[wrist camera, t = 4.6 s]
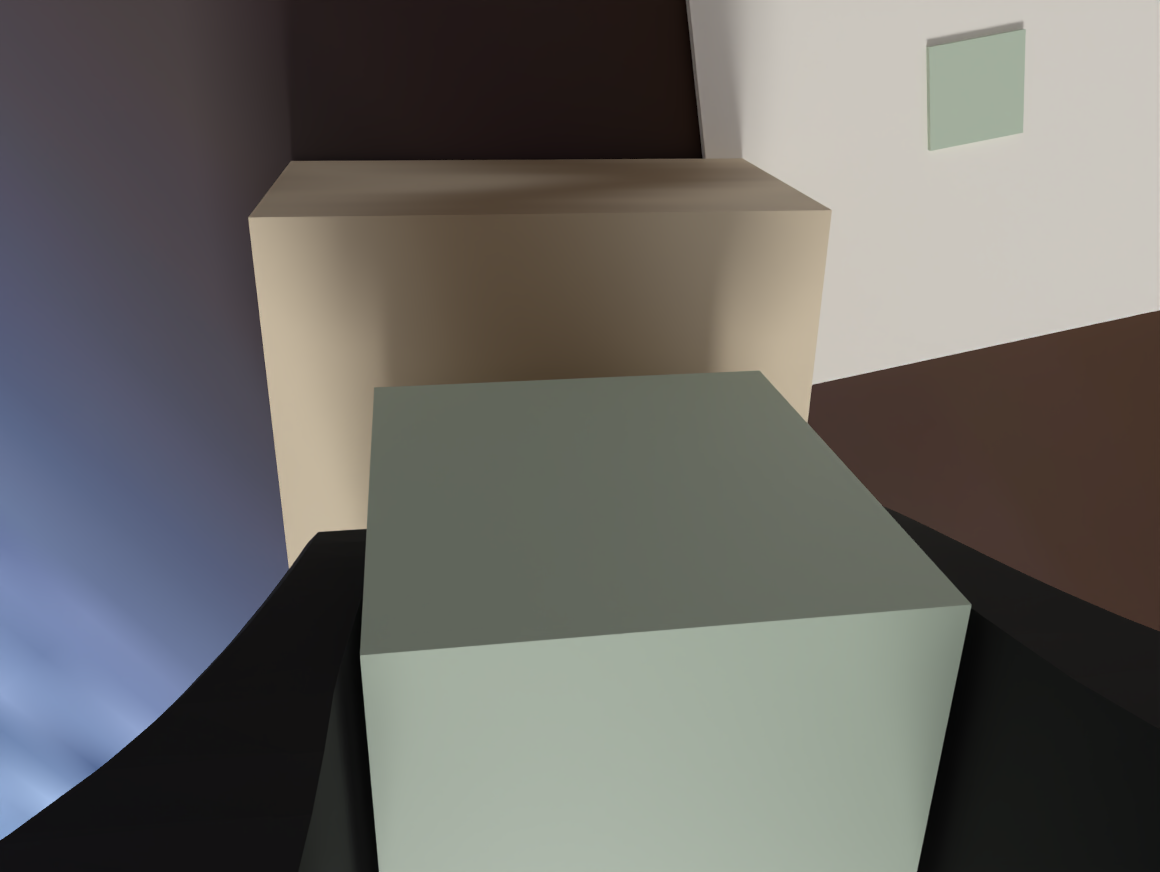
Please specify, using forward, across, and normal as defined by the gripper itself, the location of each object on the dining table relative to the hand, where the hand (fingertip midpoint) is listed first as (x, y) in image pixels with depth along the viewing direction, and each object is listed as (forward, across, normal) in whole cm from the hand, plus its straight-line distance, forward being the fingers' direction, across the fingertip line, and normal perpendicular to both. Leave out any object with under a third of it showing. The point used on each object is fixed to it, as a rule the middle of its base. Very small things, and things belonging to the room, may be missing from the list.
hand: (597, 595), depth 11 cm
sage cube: (+2, 0, 0) cm, 2 cm away
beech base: (+7, 0, 0) cm, 7 cm away
